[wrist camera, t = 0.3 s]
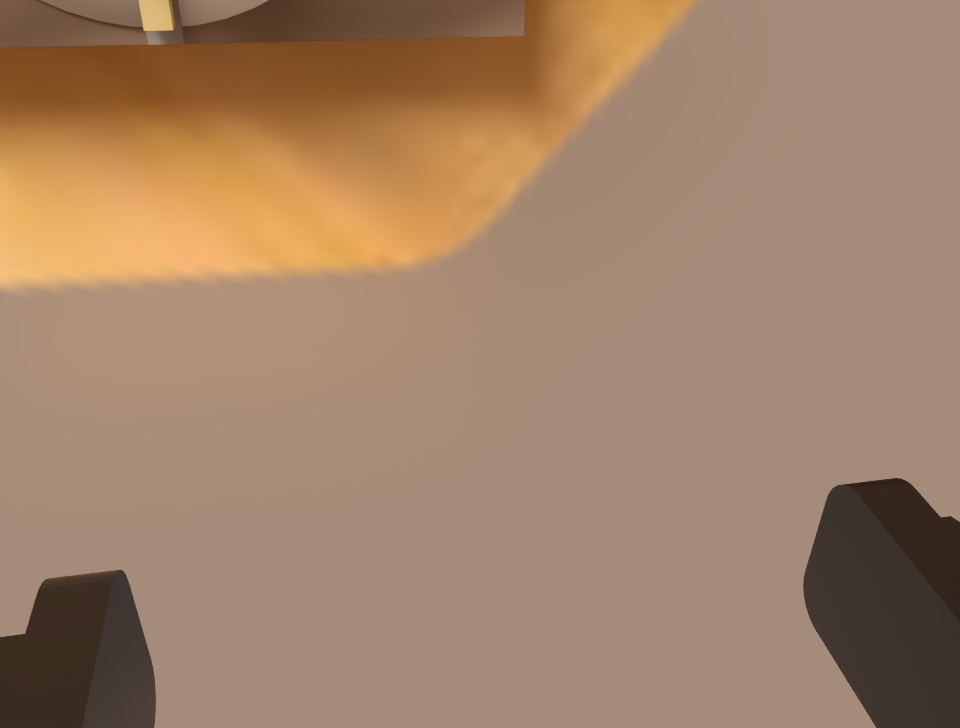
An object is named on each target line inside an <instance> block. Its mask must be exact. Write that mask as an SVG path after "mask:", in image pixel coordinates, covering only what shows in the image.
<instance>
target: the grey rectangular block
mask: <svg viewBox="0 0 960 728" xmlns="http://www.w3.org/2000/svg"><path fill="white" fill-rule="evenodd" d="M139 6H140V11H141V17H142V23H143V29H144V31H166V30H174V28H175V21H174V14H173V8H172V1H171V0H139Z"/></svg>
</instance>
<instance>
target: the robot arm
mask: <svg viewBox="0 0 960 728" xmlns="http://www.w3.org/2000/svg"><path fill="white" fill-rule="evenodd" d="M803 585H804V598H805V603H806V607H807V611H808V614H809V617H810V619H811V621H812V624H813V626H814V627H815V629H816V631H817V633H818V634H819V636H820V638H821V639H822V641H823V642H824V644H825V646H826V647H827V649H828V650H829V652H830V654H831V655H832V657H833V658H834V660H835V661H836V663H837V665H838V666H839V668H840V670H841V671H842V673H843V674H844V676H845V677H846V679H847V681H848V683H849V684H850V686H851V687H852V689H853V691H854V692H855V694H856V695H857V697H858V699H859V700H860V702H861V704H862V705H863V707H864V708H865V710H866V712H867V713H868V715H869V716H870V718H871V719H872V721H873V723H874V724H875V726H876V728H960V522H959V521H957V520H956V519H954V518H952V517H951V516H949V517H942V518H941V517H940V516H939V515H938V514H937V513H936V512H935V510H934V509H933V508H932V507H931V506H930V505H929V504H928V502H927V501H926V500H925V499H924V498H923V497H922V496H921V495H920V493H919V492H918V491H917V490H916V489H915V488H914V487H913V486H912V485H911V484H910V483H908V482H907V481H905V480H903V479H899V478H893V479H885V480H876V481H868V482H860V483H852V484H844V485H838V486H836V487H834V488H833V489H832V490H831V491H830V493H829V494H828V497H827V500H826V503H825V507H824V510H823V514H822V517H821V520H820V524H819V527H818V530H817V534H816V537H815V540H814V544H813V547H812V551H811V554H810V557H809V561H808V564H807V568H806V571H805V576H804V584H803ZM155 711H156V694H155V678H154V671H153V665H152V661H151V657H150V654H149V651H148V647H147V644H146V641H145V637H144V633H143V630H142V626H141V623H140V619H139V616H138V612H137V609H136V606H135V602H134V599H133V595H132V592H131V588H130V585H129V582H128V579H127V577H126V574H125V573H124V572H123V571H122V570H115V571H107V572H99V573H90V574H83V575H74V576H65V577H58V578H49V579H46V580H44V581H43V583H42V584H41V586H40V588H39V590H38V593H37V596H36V599H35V603H34V606H33V610H32V613H31V616H30V620H29V623H28V626H27V630H26V633H25V634H21V635H14V636H6V637H0V728H154V724H155Z"/></svg>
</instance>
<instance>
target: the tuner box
mask: <svg viewBox="0 0 960 728" xmlns="http://www.w3.org/2000/svg"><path fill="white" fill-rule="evenodd" d="M171 1H172V8H173V14H174V21H175V28H174V30H166V31H144V29H143V23H142V17H141V11H140V6H139V0H0V48H17V47H61V46H105V45H164V44H194V43H238V42H282V41H326V40H371V39H415V38H459V37H503V36H524V24H525V0H171Z"/></svg>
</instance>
